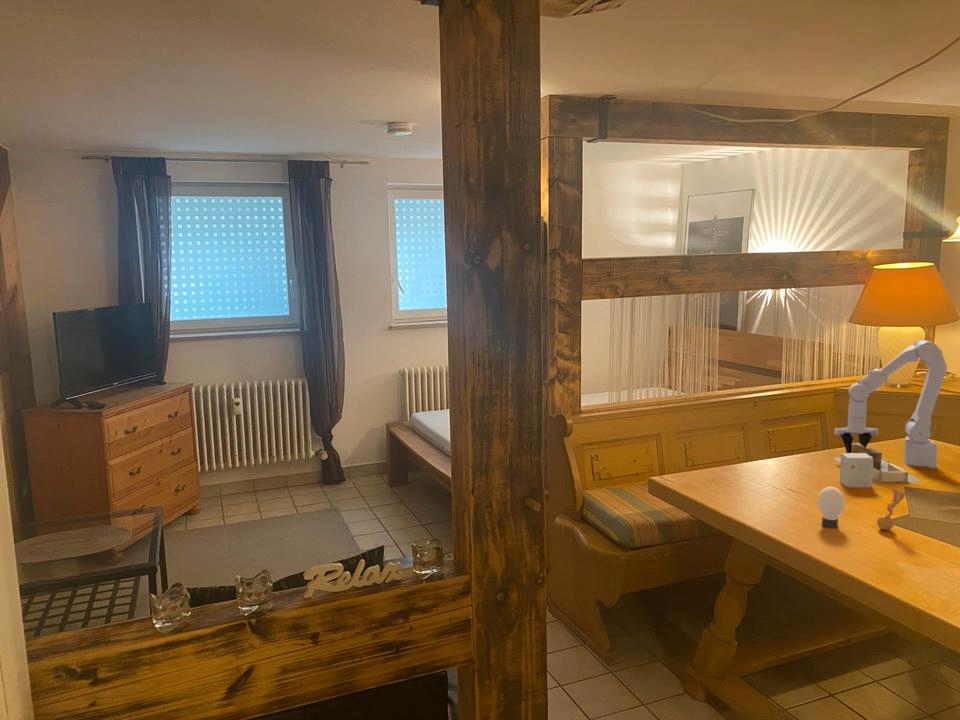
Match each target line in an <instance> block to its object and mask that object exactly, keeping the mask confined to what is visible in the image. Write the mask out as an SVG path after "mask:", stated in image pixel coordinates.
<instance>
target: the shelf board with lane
mask: <svg viewBox="0 0 960 720" xmlns="http://www.w3.org/2000/svg"><path fill="white" fill-rule="evenodd" d="M833 460H836V461H837V462H839V463H841V457H833ZM907 482H908V483H911V482H912V483H915V482H916V483H920V482H922V481H921V480H920V479H918V478H916V477H914V476H912V475H910V474H909V471H907V470H904V469H903V468H902V467H899V466H897V465H896V464H893V463H889V462H887V461H885V460H884V459H882V458H881V470H877V469H875V468H874V467H873V476H872V483H907Z"/></svg>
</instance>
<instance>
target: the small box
mask: <svg viewBox="0 0 960 720" xmlns="http://www.w3.org/2000/svg"><path fill="white" fill-rule="evenodd" d="M840 458H841V463H840V462H839V463H840V464H839V465H840V466H839V482H840V484H842V485H843V486H844V487H846V488H873V482H872V476H873V457H871V456H869V455H868V454H866V453H845V452H844V453H843V452H841V453H840Z"/></svg>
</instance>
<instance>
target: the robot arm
mask: <svg viewBox="0 0 960 720" xmlns="http://www.w3.org/2000/svg"><path fill="white" fill-rule="evenodd" d="M919 359H920V360H922V361H923V363H924V364H925V366H926V367H927V369H928V371H927V374H926V376H925V378H924V379H925V380H924V383H923V385H922V389H921V392H920V395H919V398H918V400H917V404H916V407H915V411H914V412H913V413H912V414H911V417H910V419H909V420H908V421H907V422H906V423H905V425H904V430H905V433H906V434H907V435H906V436H905V438H904V450H903V464H905V465H908V466H911V467H912V466H913V467H928V468H929V469H938V466H937V464H938V463H937V461H938V446H937V444H936V442H935V441H933V440H930V438H931V435H932V434H931V433H932V432H931V425H932V414H933V411H934V409H935V405H936V403H937V400H938V396H939V394H940V390H941V388H942V384H943V382H944V379H945V376H946V373H947V369H948V367H947V363H946V360H945V357H944V355H943V351H942V350H941V349H940V348H939V346H938V345H937V344H936V343H933V342H931V341H930V340H928V339H924V338H922V339H918V340H916V341H915V342H914V343H913V344H910V345H908V346H907V347H905V349H903V350H902V351H901V352H899V354H897V355H896V356H895V357H894V358H893V359H891V360H890V361H889V362H888V363H886V364H885V365H884V366H882V368H874V369H869V370H867V374H866V375H865V376H864V377H862V378H861V379H857V380H856V382H855V383H852V384H851V385H850V386H849V388H848V390H847V393H848V395H849V399H848V409H847V410H848V411H847V412H848V413H847V426H845V427H837V428H836V427H835V428H834V431H833V433H834V435H836V436H837V435H838V436H839V435H840V437H841V439H842V440H843V443H844V447H845V452H846V453H851V446H852V443H853V440H854V437H853V436H852V435H858V443H860V444H862V445H864V446H865V448H864V449H867V446H868V445H869V442H870V441H871V440H872V438H873V435H879V429H878V428H876V427H866V424H867V410H868V409H867V406H868V405H867V400H868V398H869V396H870V394H871V393H873V392H875V391H876V390H877V389H878V388H880V387H881V386H882V385H884V384H885V383H887V382H888V377H889V376H890V375H891V374H893V373H894V372H896V371H897V370H899V369H900V368H902V367H903V366H904V365H906V364H908V363H909V362H911V363H913V362H919V361H920V360H919Z"/></svg>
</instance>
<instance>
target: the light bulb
mask: <svg viewBox="0 0 960 720" xmlns="http://www.w3.org/2000/svg"><path fill="white" fill-rule="evenodd" d="M845 501H846V500H845V497H844V494H843V493H842V491H840V489H838V488H837V487H835V486H827V487H824V488H823V489H821V491H820V492H819V494H818V496H817V506H818V509H819V512H821V514H822V517H821V526H823V527H825V528H826V527H827V528H838V526H839V525H838V524H839V516H840V515H841V514H842V513H843V511H844V509H845Z"/></svg>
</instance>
